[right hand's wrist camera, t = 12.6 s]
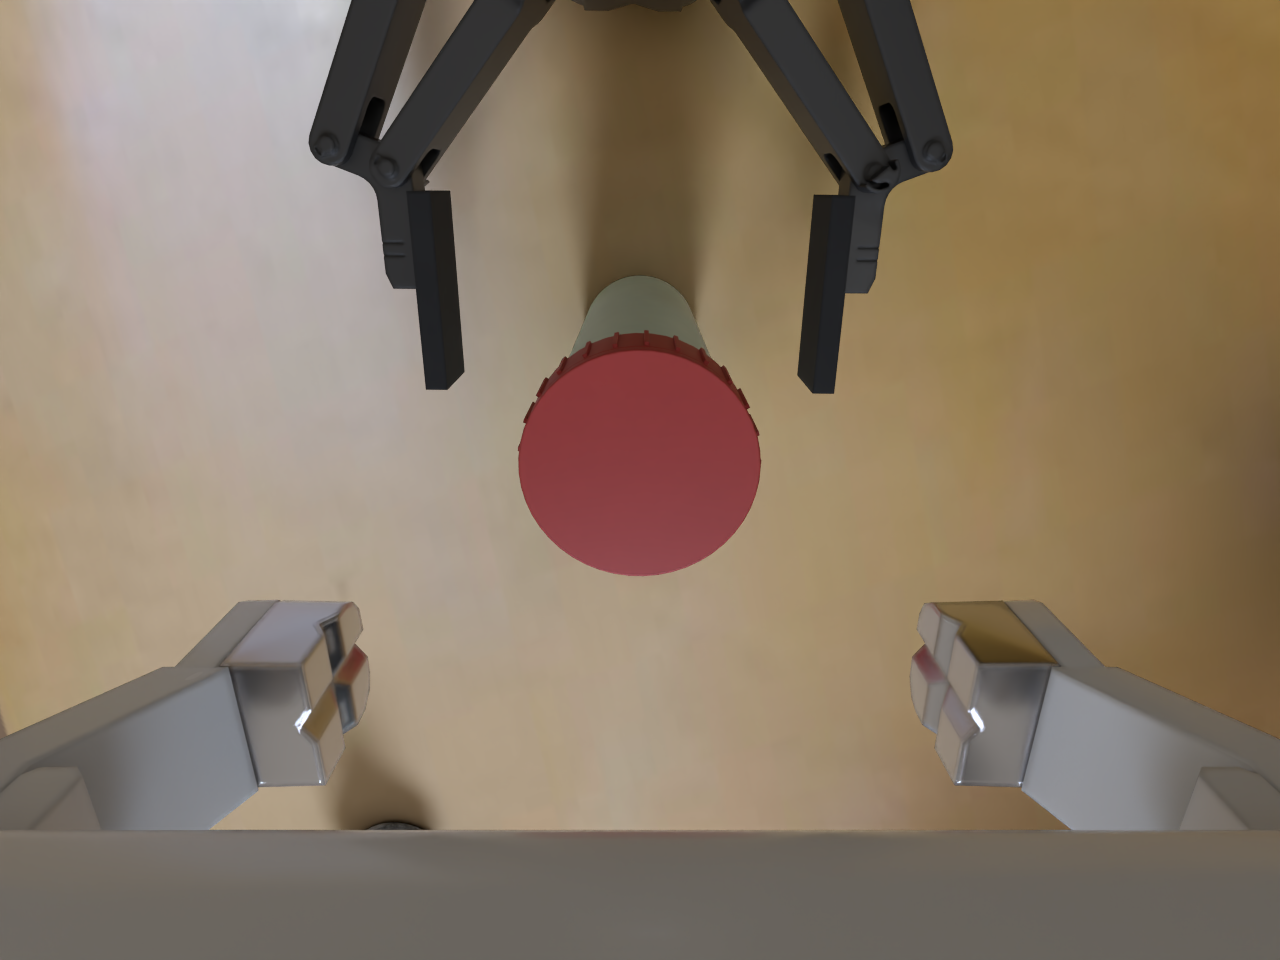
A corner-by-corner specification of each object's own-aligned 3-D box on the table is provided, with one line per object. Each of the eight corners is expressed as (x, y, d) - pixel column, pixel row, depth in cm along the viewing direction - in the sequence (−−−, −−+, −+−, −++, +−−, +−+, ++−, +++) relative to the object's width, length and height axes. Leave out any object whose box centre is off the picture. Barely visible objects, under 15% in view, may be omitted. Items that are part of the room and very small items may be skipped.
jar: (563, 344, 33) (494, 485, 17) (626, 252, 31) (613, 314, 16) (651, 405, 34) (662, 590, 18) (717, 319, 32) (787, 440, 17)
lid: (484, 465, 19) (467, 496, 17) (611, 280, 17) (607, 291, 15) (662, 579, 20) (665, 619, 18) (797, 417, 18) (815, 442, 16)
